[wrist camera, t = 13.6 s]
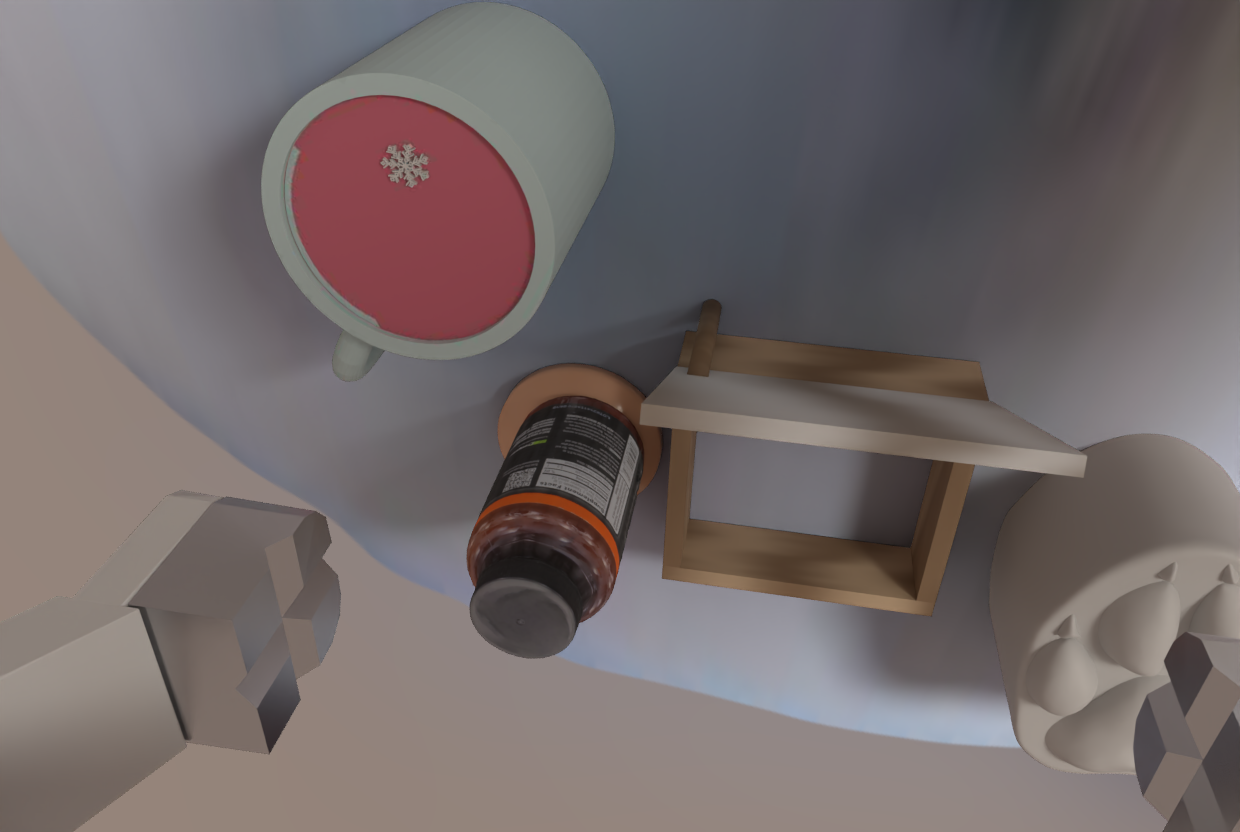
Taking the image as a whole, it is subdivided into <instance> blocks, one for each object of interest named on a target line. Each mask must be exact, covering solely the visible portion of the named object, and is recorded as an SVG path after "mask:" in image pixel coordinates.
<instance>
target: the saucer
mask: <svg viewBox="0 0 1240 832" xmlns="http://www.w3.org/2000/svg"><path fill="white" fill-rule="evenodd" d="M562 396H587V397H590V398H595V399H597V400H600V401H602V402H605V403H607V404H609V405H611V406H613V407H614V408H615V409H617V410H619V411H620V412H622V413H623V414H624V415H625V416H626V417H627V418H628V419H629V420H630V421H631V423H632V424H633V425H634V426H635V428H636V430H637V432H638V434H639V436H640V438H641V440H642V443H643V447H644V466H643V474H642V478H641V482H640V485H639V490H638V493H637V495H638V494H639V493H641V492H642V491H643V490H644V489H645V488H646V487H647V486H648V485H649V483H650V482H651V480H652V479H653V477H654V475H655V473H656V471H657V468H658V465H659V461H660V457H661V453H662V446H663V435H662V429H661V427H657V426H648V425H640V424H639V423H640V413H641V403H642V402H643V401H644V400H645V399H646V397H645V396H644V395H643V394H642V393H641V392H640V391H639V390H638V389H637V388H636V387H635V386H634V385H633V384H631V383H630V382H628V381H627V380H625V379H624V378H622V377H620V376H619V375H617V374H615V373H613V372H610V371H608V370H605V369H603V368H599V367H596V366H592V365H586V364H576V363H566V364H557V365H552V366H548V367H545V368H542V369H539V370H537V371H535V372H533V373H531V374H529V375H528V376H526V377H525V378H524V379H522V380H521V381H520V382H519V383H518V384H517V385H516V386H515V388H514V389H513V390H512V391H511V393H510V395H509V397H508V398H507V400H506V402H505V404H504V406H503V408H502V411H501V414H500V416H499V421H498V441H499V445H500V449H501V452H502V454H503V457H504V459H505V458H506V456H507V454H508V452H509V449H510V447H511V445H512V443H513V441H514V439H515V436H516V434H517V432H518V430H519V428H520V426H521V425H522V423H523V422H524V420H525V418H526V417H527V416H528V414H529V413H530V412H531V411H532V410H533V409H535V408H536V407H537V406H539V405H540V404H542V403H544V402H546V401H548V400H551V399H554V398H557V397H562Z"/></svg>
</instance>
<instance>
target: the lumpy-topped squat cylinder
mask: <svg viewBox="0 0 1240 832" xmlns="http://www.w3.org/2000/svg"><path fill="white" fill-rule="evenodd" d="M1080 452H1082V453H1083V454H1085V455H1087V461H1086V467H1085V472H1084V478H1081V477H1073V476H1065V475H1056V474H1048V473H1046V474H1045V475H1044V476H1043V477H1042V478H1040V479H1039V480H1038V481H1037V482H1036V483H1035V484H1034V485H1033V486H1032V487H1031V488H1030V489H1029V490H1028V491H1027V492H1026V493H1025V494H1024V495H1023V496H1022V497H1021V498H1020V499H1019V500H1018V501H1017V502H1016V503H1015V504H1014V506H1013V507H1012V508H1011V509H1010V510H1009V512H1008V513H1007V515H1006V516H1005V519H1004V521H1003V523H1002V526H1001V529H1000V532H999V535H998V539H997V543H996V547H995V551H994V556H993V561H992V567H991V574H990V594H989V609H990V615H991V620H992V625H993V630H994V635H995V640H996V645H997V650H998V656H999V661H1000V666H1001V671H1002V676H1003V681H1004V686H1005V691H1006V696H1007V701H1008V705H1009V710H1010V715H1011V721H1012V726H1013V730H1014V734H1015V736H1016V739H1017V741H1018V743H1019V745H1020V746H1021V747H1022V749H1023V750H1024V751H1025V752H1026V753H1027V754H1029V755H1030V756H1031V757H1032V758H1033V759H1035V760H1036V761H1038V762H1039V763H1041V764H1043V765H1044V766H1046V767H1049V768H1052V769H1055V770H1058V771H1063V772H1070V773H1079V774H1106V773H1107V774H1109V773H1111V774H1112V773H1115V774H1129V775H1136V771H1135V762H1134V754H1133V742H1134V733H1135V724H1136V718H1137V716H1138V714H1139V711H1140V709H1141V707H1142V705H1143V702H1144V700H1145V698H1146V695H1147V694H1148V693H1150V692H1152V691H1154V690H1156V689H1158V688H1160V687H1161V686H1163V685H1165V684H1167V683H1169V682H1171V680H1170V677H1169V675H1168V672H1167V669H1166V667H1165V664H1164V659H1165V657H1166V655H1167V653H1168V651H1169V649H1170V647H1171V645H1172V643H1173V642H1174V641H1175V640H1176V639H1177V638H1178V637H1180V636H1181V635H1182V634H1183V633H1184V632H1193V633H1200V634H1208V635H1216V636H1223V637H1231V638H1238V639H1240V493H1239V492H1238V490H1237V488H1236V486H1235V485H1234V483H1233V481H1232V480H1231V478H1230V477H1229V475H1228V474H1227V472H1226V471H1225V470H1224V469H1223V468H1222V467H1221V466H1220V465H1219V464H1218V463H1217V462H1216V461H1215V460H1213V459H1212V458H1211V457H1210V456H1208V455H1207V454H1205V453H1204V452H1203V451H1201V450H1200V449H1198V448H1196V447H1195V446H1193V445H1191V444H1189V443H1187V442H1185V441H1183V440H1180V439H1177V438H1174V437H1171V436H1166V435H1159V434H1132V435H1126V436H1121V437H1117V438H1113V439H1110V440H1107V441H1104V442H1101V443H1098V444H1096V445H1093V446H1091V447H1089V448H1087V449H1085V450H1083V451H1080Z"/></svg>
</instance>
